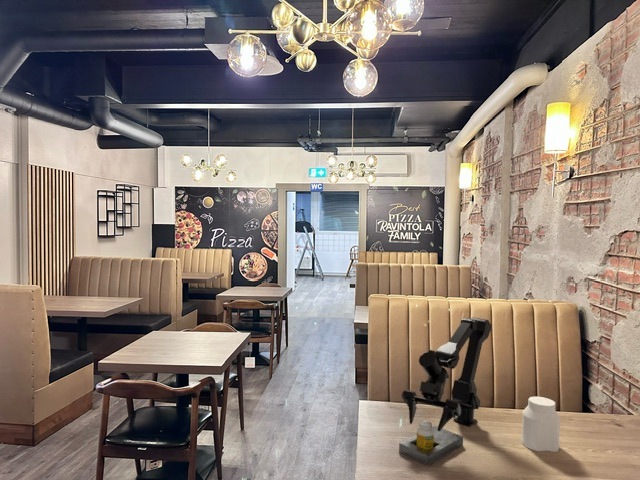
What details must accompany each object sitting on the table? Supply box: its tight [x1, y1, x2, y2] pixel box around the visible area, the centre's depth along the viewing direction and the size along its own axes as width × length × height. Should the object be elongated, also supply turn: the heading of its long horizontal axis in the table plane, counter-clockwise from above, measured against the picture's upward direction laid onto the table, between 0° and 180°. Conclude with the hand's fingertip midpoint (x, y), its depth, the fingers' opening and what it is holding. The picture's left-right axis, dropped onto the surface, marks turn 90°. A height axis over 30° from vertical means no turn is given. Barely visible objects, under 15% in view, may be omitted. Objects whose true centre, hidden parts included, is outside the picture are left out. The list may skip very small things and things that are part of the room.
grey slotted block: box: [398, 425, 464, 466], centre depth 151 cm, size 20×11×3 cm, turn 132°
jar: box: [520, 396, 561, 453], centre depth 155 cm, size 12×10×15 cm
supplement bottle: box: [416, 420, 434, 451], centre depth 148 cm, size 5×5×10 cm
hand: (424, 427), depth 147 cm, fingers open, 9 cm apart
